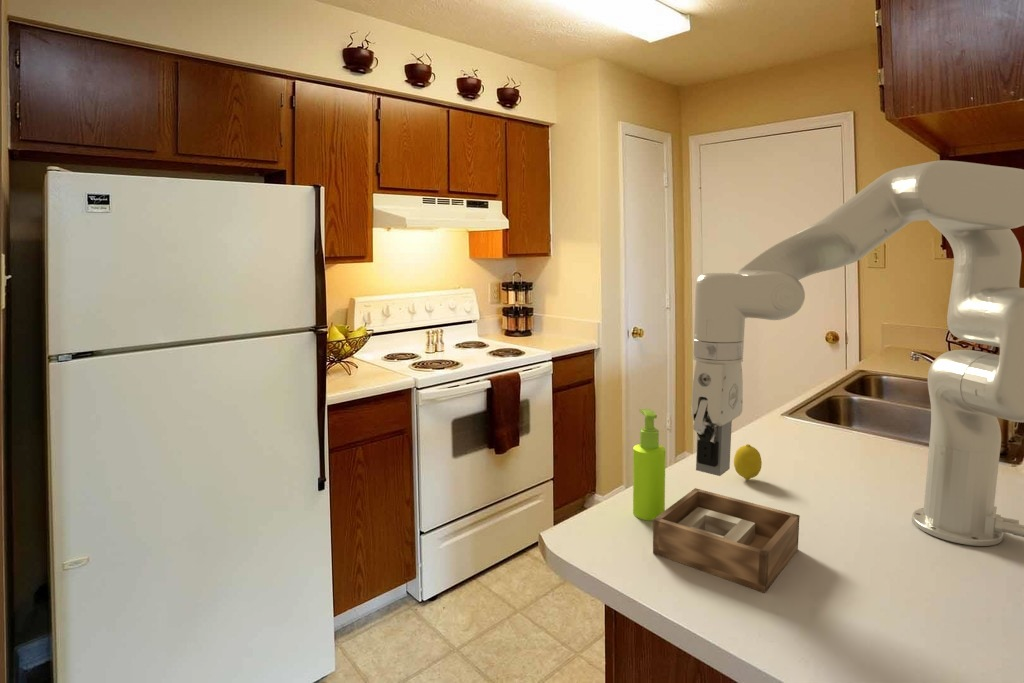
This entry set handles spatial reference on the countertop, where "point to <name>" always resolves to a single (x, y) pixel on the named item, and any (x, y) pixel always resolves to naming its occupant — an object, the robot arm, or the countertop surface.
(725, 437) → the plug
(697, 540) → the crate
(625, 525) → the countertop surface
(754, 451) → the lemon
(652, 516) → the soap dispenser
